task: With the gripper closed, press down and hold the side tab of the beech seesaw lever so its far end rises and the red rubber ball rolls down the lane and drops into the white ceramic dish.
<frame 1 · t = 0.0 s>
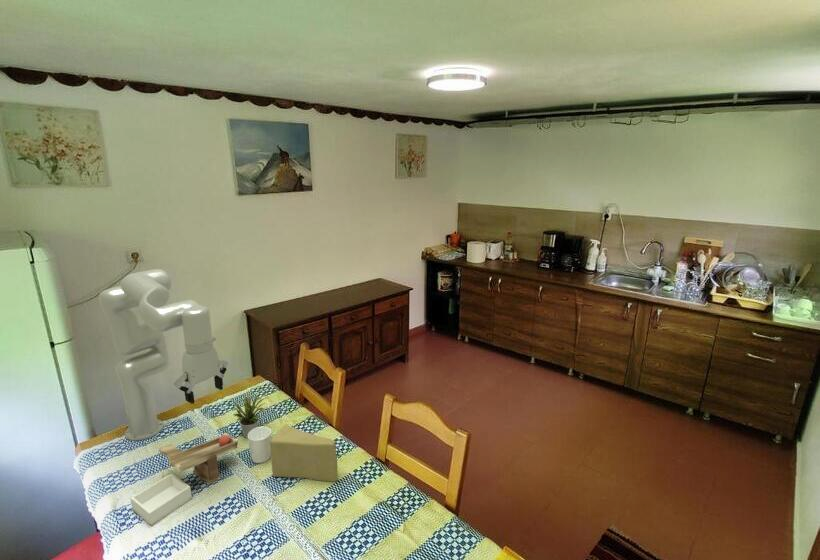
hand: (205, 395, 129), 31 cm above the table, fingers open, 9 cm apart
white cup: (261, 457, 147), on the table
dish: (162, 504, 126), on the table
cheese: (307, 474, 140), on the table
house plant: (253, 434, 159), on the table
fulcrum: (207, 475, 138), on the table
ball: (224, 440, 142), point 9 cm above the table, tilted 8°, touching lever
lever: (197, 448, 138), point 9 cm above the table, hinge at -12.0°, touching ball
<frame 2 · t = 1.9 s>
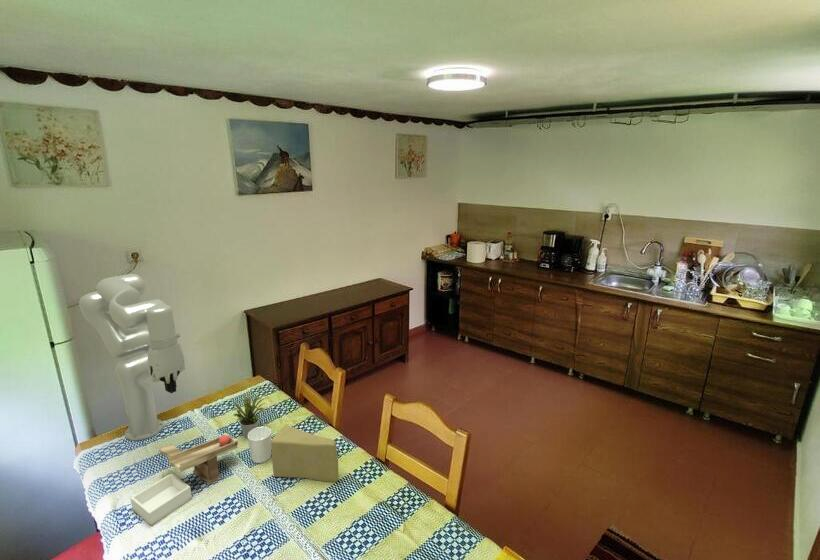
hand: (171, 391, 139), 27 cm above the table, fingers closed
nothing on the table moved.
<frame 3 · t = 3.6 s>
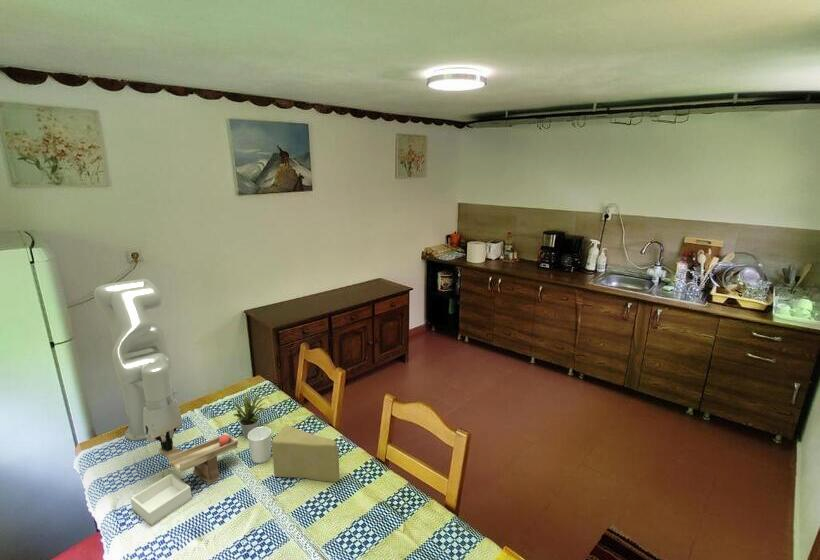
hand: (167, 448, 135), 10 cm above the table, fingers closed
lever: (197, 448, 138), point 9 cm above the table, hinge at -11.2°, touching ball, gripper
everything else where it was.
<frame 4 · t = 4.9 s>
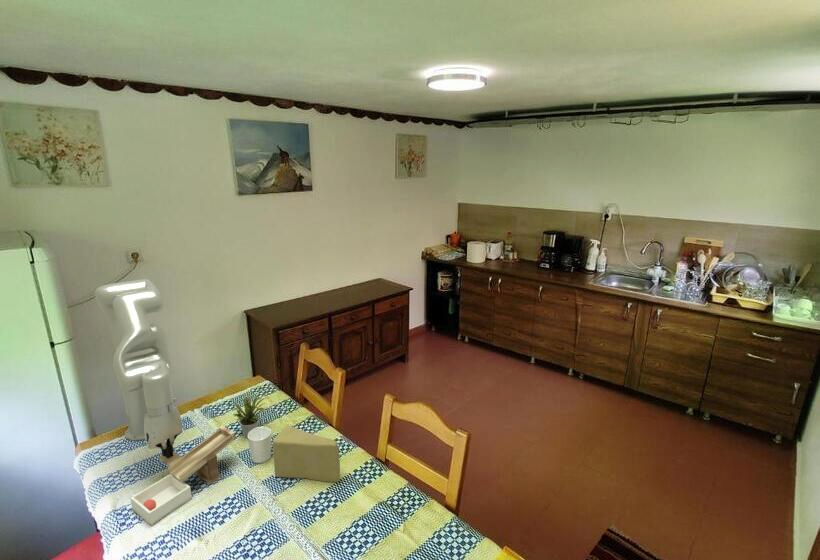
hand: (168, 455, 135), 8 cm above the table, fingers closed
ball: (149, 505, 122), point 2 cm above the table, tilted 150°, touching dish
lever: (196, 448, 137), point 9 cm above the table, hinge at 10.1°, touching gripper
everything else where it was.
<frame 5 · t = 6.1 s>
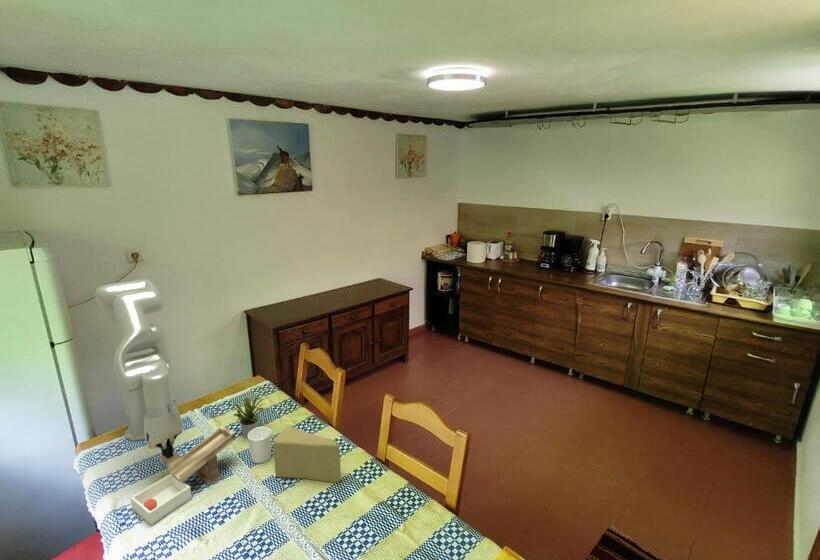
hand: (168, 455, 135), 8 cm above the table, fingers closed
ball: (150, 505, 122), point 2 cm above the table, tilted 143°, touching dish
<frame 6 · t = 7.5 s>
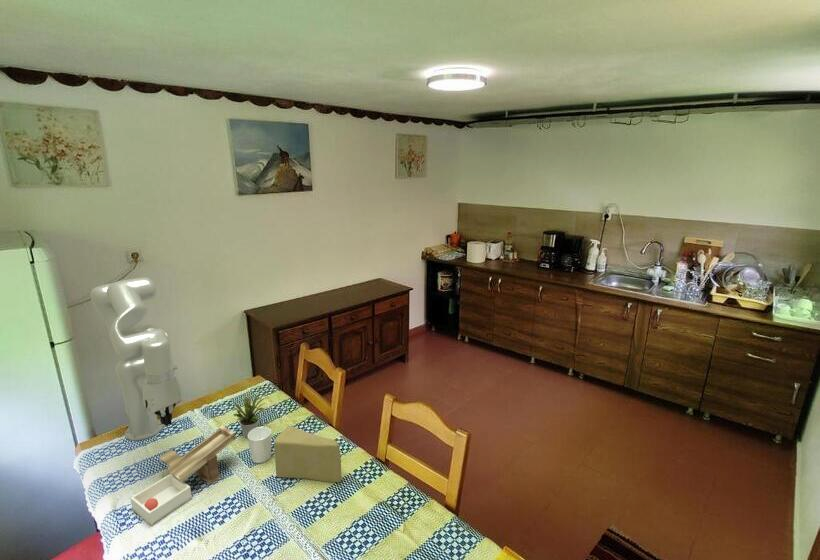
hand: (166, 423, 135), 18 cm above the table, fingers closed
ball: (151, 504, 122), point 2 cm above the table, tilted 133°, touching dish
lever: (196, 448, 137), point 9 cm above the table, hinge at 10.1°
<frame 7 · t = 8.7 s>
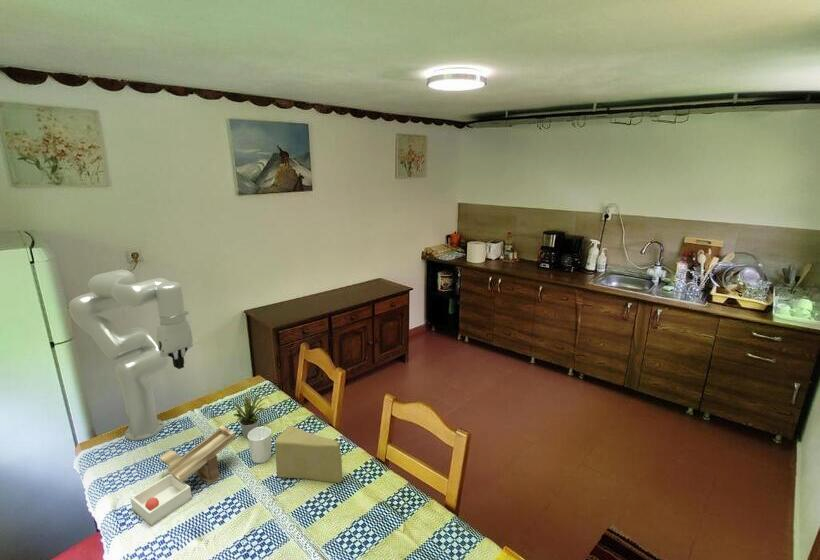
hand: (179, 367, 142), 33 cm above the table, fingers closed
ball: (152, 504, 123), point 2 cm above the table, tilted 124°, touching dish
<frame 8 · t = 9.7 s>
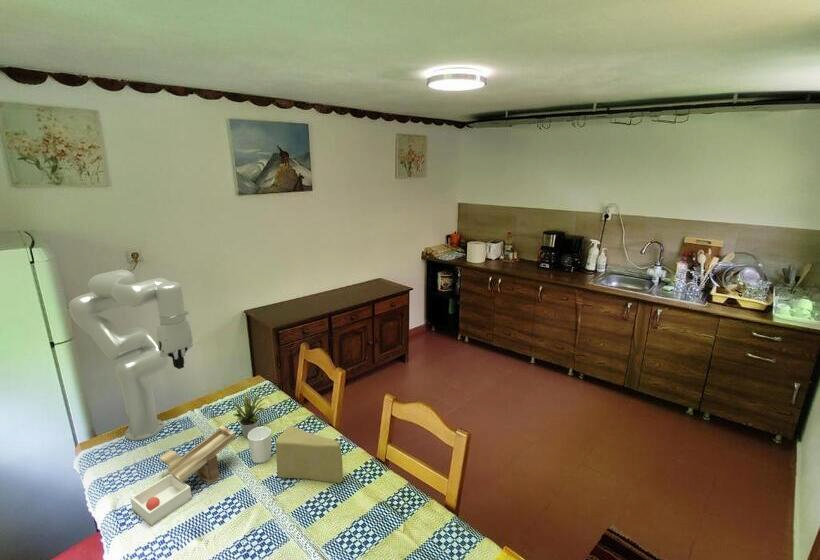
hand: (179, 367, 142), 33 cm above the table, fingers closed
ball: (152, 503, 123), point 2 cm above the table, tilted 116°, touching dish
at the end: ball inside the target area on the dish (2.7 cm from its centre), point 2.3 cm above the dish's base; lever at +10° (first picture: -12°) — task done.
